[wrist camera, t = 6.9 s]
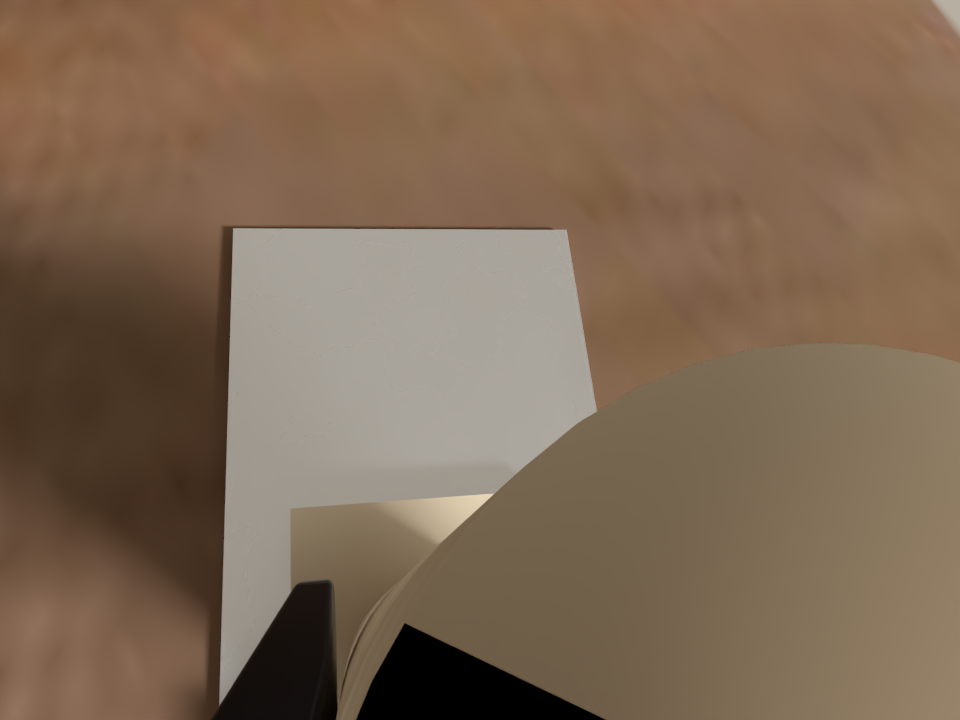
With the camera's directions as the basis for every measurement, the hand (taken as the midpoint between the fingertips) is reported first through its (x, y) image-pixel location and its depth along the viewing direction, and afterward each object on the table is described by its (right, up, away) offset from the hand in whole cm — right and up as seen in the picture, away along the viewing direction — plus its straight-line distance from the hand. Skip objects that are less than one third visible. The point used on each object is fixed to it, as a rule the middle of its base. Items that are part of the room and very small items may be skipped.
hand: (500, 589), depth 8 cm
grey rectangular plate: (-2, +2, +9) cm, 9 cm away
